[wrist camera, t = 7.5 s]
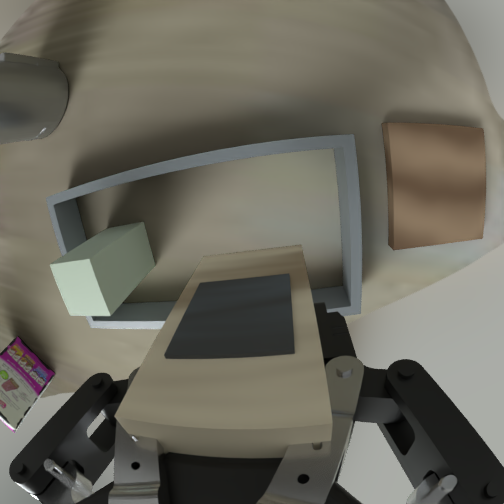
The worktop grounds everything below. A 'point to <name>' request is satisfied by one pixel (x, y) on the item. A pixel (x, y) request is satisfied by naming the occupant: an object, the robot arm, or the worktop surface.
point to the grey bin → (344, 149)
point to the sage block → (104, 270)
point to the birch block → (235, 363)
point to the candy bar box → (20, 382)
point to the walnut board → (434, 183)
